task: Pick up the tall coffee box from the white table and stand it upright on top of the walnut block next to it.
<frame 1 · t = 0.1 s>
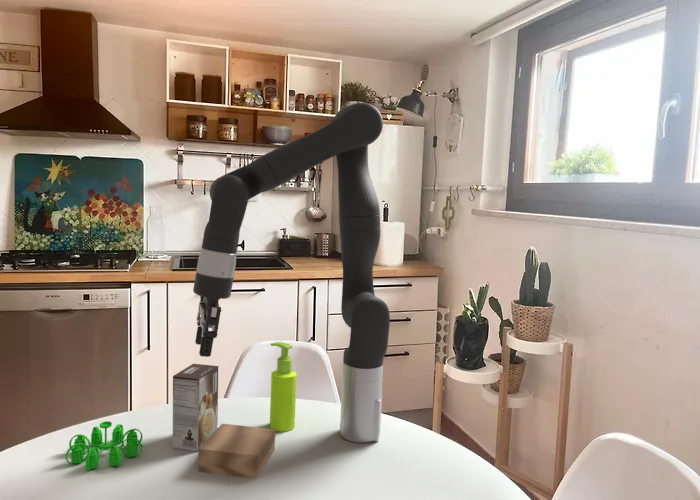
hand: (202, 349, 110), 22 cm above the table, tool pointing down, fingers open, 8 cm apart
coffee box: (195, 441, 118), on the table
walnut block: (238, 461, 110), on the table
chandelier: (105, 457, 110), on the table
soap dispenser: (280, 426, 127), on the table
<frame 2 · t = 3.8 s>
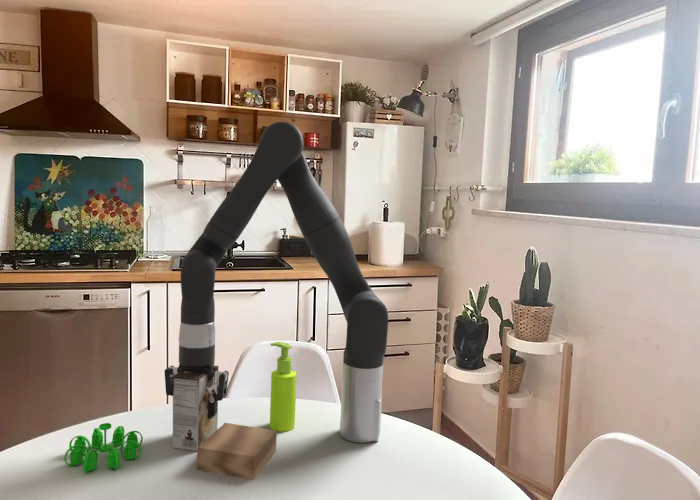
hand: (195, 415, 117), 6 cm above the table, tool pointing down, fingers closed on coffee box, 6 cm apart
coffee box: (195, 441, 118), on the table, touching gripper
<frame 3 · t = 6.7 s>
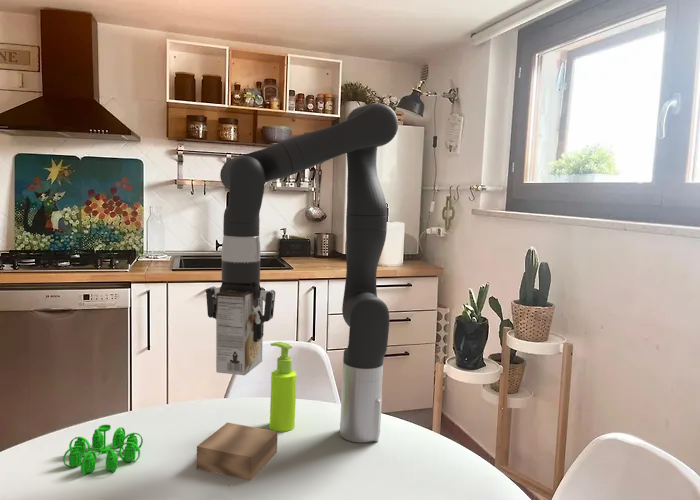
hand: (240, 339, 108), 25 cm above the table, tool pointing down, fingers closed on coffee box, 6 cm apart
coffee box: (239, 368, 109), point 19 cm above the table, touching gripper
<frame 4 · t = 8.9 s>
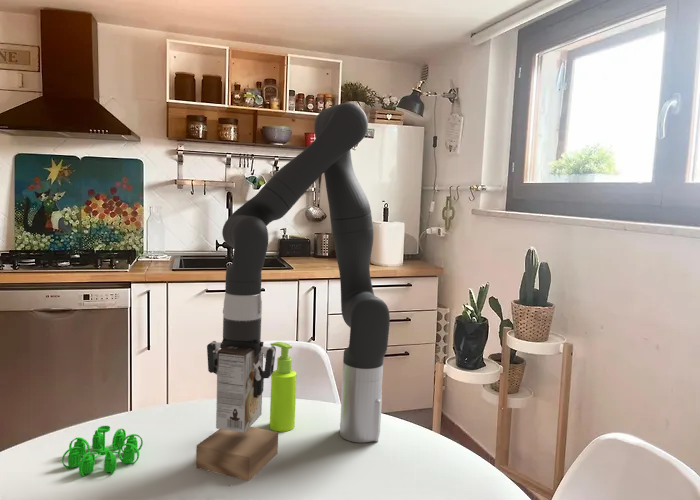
hand: (240, 394, 109), 14 cm above the table, tool pointing down, fingers closed on coffee box, 6 cm apart
coffee box: (239, 422, 109), point 8 cm above the table, touching gripper
when the fingers open (12 cm above the table, at t = 10.0 s): coffee box drops 2 cm, point 4 cm above the table.
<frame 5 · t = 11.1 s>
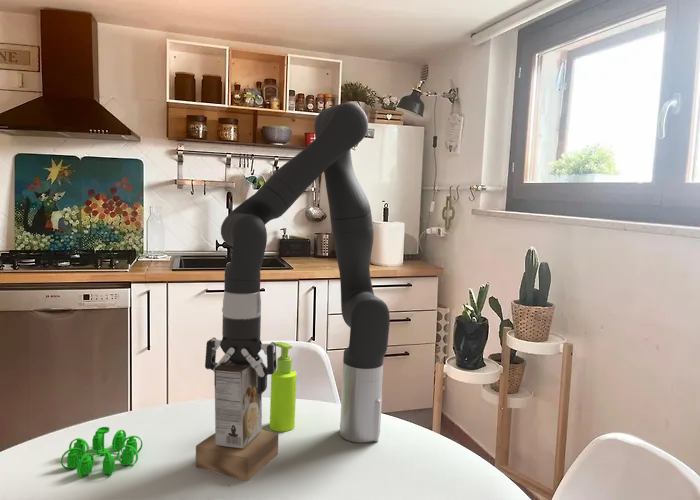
hand: (240, 391, 109), 15 cm above the table, tool pointing down, fingers open, 8 cm apart
coffee box: (239, 438, 110), point 4 cm above the table, touching gripper
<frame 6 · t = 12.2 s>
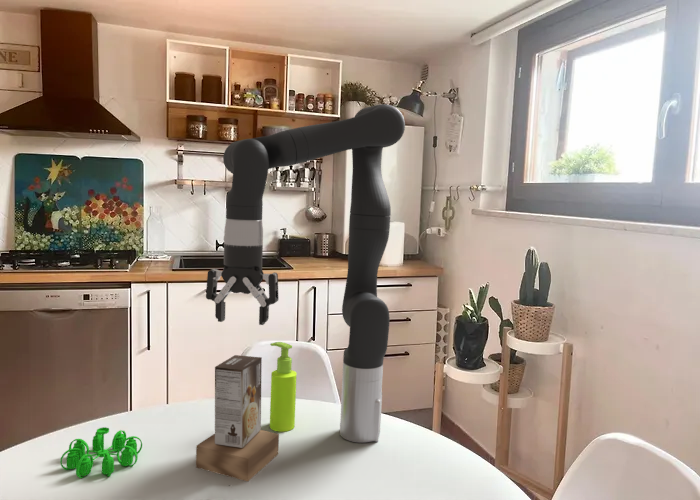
hand: (241, 322, 107), 29 cm above the table, tool pointing down, fingers open, 8 cm apart
coffee box: (238, 438, 110), point 4 cm above the table
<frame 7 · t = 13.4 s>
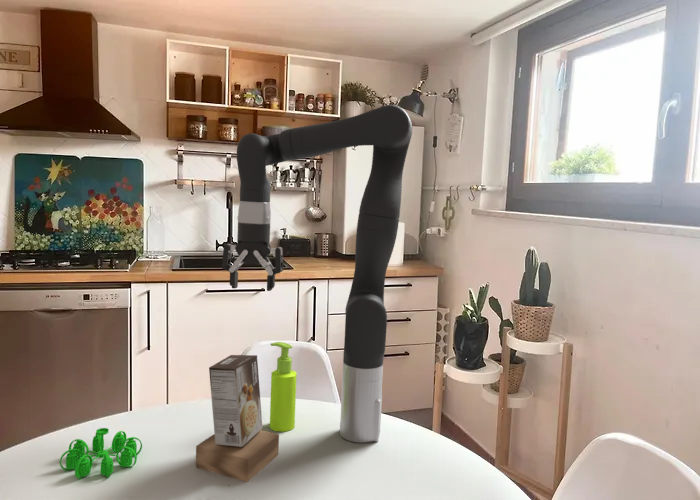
hand: (251, 289, 127), 32 cm above the table, tool pointing down, fingers open, 8 cm apart
coffee box: (239, 437, 110), point 5 cm above the table, touching walnut block
walnut block: (238, 463, 110), on the table, touching coffee box
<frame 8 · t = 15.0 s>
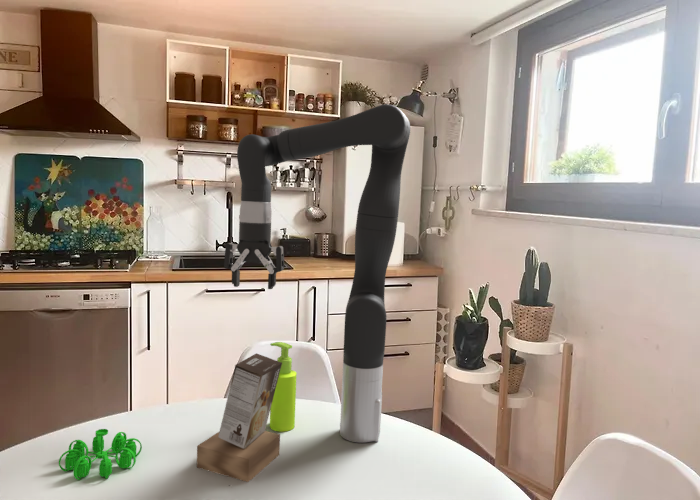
hand: (253, 287, 129), 32 cm above the table, tool pointing down, fingers open, 8 cm apart
coffee box: (241, 435, 110), point 5 cm above the table
walnut block: (239, 463, 110), on the table
at the end: coffee box inside the target area on the walnut block (0.8 cm from its centre), point 5.6 cm above the walnut block's base; coffee box tilted 13°; the gripper is holding nothing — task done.
